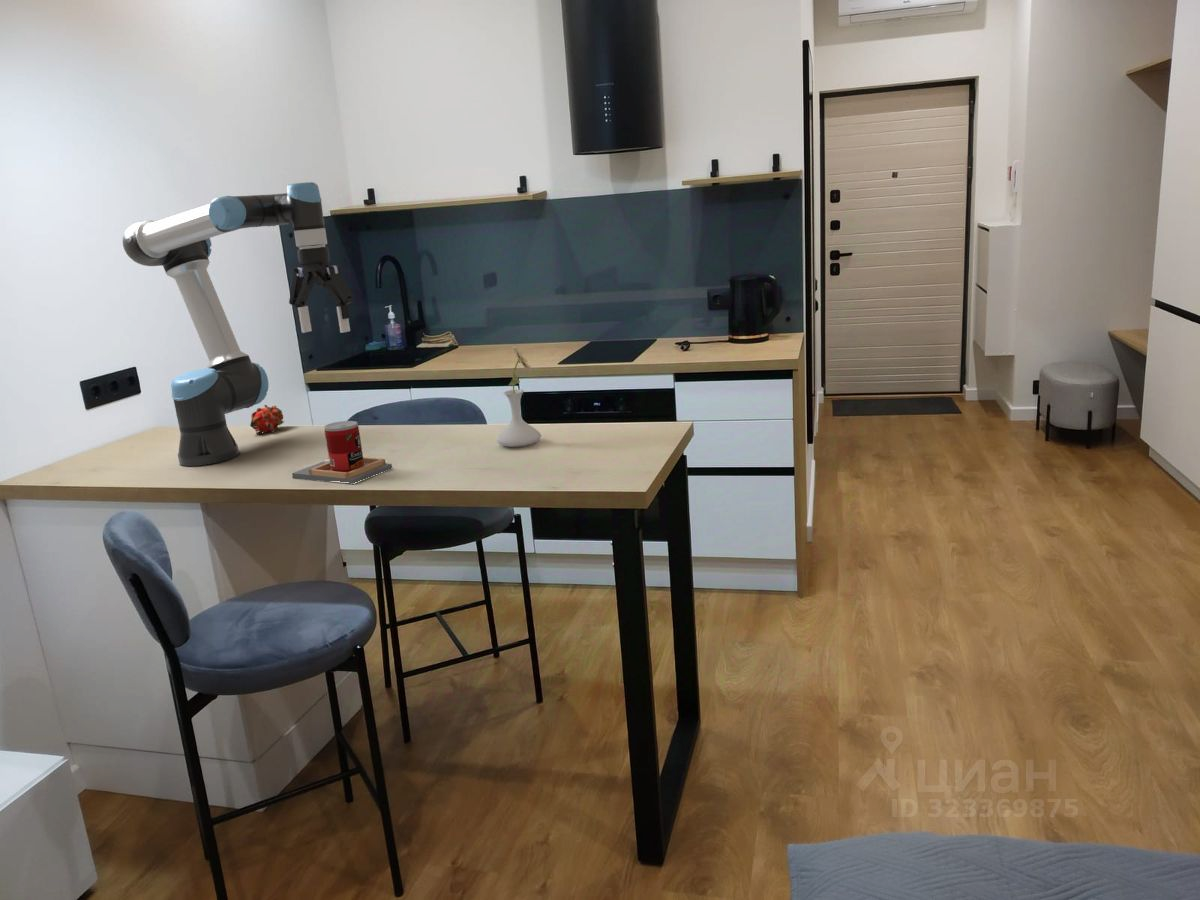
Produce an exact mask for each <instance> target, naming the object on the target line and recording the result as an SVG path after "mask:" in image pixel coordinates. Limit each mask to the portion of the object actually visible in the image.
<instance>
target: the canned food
mask: <svg viewBox="0 0 1200 900" xmlns="http://www.w3.org/2000/svg"><path fill="white" fill-rule="evenodd" d="M323 429H324V436H325V437H324V438H325V442H326V447H327V455H328V459H329V461H330V467H331V469H332V471H337V472H347V473H348V472H350V471H353V470H355V469H358V468H360V467H363V466H364V460H363V457H364V455H363V447H362V442H361V435H360V434H361V433H360V428H359V424H358V421H354V420H342V421H337V422H332V423H328V424H326V425H324V428H323Z"/></svg>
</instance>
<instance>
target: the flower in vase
mask: <svg viewBox="0 0 1200 900" xmlns="http://www.w3.org/2000/svg"><path fill="white" fill-rule="evenodd" d="M512 350H513V352H514V353H515V356H516V357H517V361H516V363H515V367H514V369H513V372H512V379H511V380H510V382H509V384H508V386H510V387H512V389H511V390H510V389H509V390H505V391H504V392H503V394H504V395H505V396H506V398H507V399H508V401H509V404H510V410H511V421H510V422H509V423H508V424H507V426H506V427H504V428H503V430H501V431H500V432H499V434H497V437H496V442H497V443H498V444H499V445H500V446H504V447H508V448H509V447H510V448H513V447H514V448H515V447H516V448H517V447H525V446H529V445H532V444H535V443H536V442H538V441H540V439H541V437H542V435H541V433H540V431H538V430H537V429H536V428H535V427H534V426H533V425H530V424H529V423H528V422H526V421H525V420H524V419H523V418H522V414H521V399H522V395H523V394H524V389H515V386H516V385H518V384H520V383H521V382H520V379H519V377H518V376H517V375H516V374H515V373H516V369H517V367H518V364H519V363H521V365H522V366H523V368H524V369H525V370H526V371H527V372H528V373H529V372H532V367H531V366H530V365H529V363H528V360H527V358H526V357H524V356H523V353H522V351H521V350H518V347H517V346H516V345H512Z"/></svg>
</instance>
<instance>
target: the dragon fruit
mask: <svg viewBox="0 0 1200 900" xmlns="http://www.w3.org/2000/svg"><path fill="white" fill-rule="evenodd" d="M250 418H251V421H250V425H249V426H250V427H252V429H253V430H255V432H256V435H258V433H260V434H263V433H262V432H265V433H267V432H269V431H270V432H271V433H274V432H275V431H276V430H278V426H281V425H283V423H285V421H284V415H283V411H282V409H280V408H279V407H277V405H272V406H271V407H270V406H268V405H267V404H265V405H264V407H263V408H261V407H258V408H257V409H256V411H253V412H252V413H251V416H250ZM273 431H274V432H273Z"/></svg>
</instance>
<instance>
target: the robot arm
mask: <svg viewBox="0 0 1200 900" xmlns="http://www.w3.org/2000/svg"><path fill="white" fill-rule="evenodd" d="M210 202H211V203H208V204H205V205H202V206H199V207H195V208H194V209H193V208H192V209H190V210H187V211H184V212H181V213H178V214H174V215H172V216H169V217H166V218H164V219H160V220H152V219H151V220H150V219H149V220H148V219H147V220H144V221H140V222H136V223H133V224H131V225H130V226H128V227H127V228H126V230H125V231H124V233H123V236H122V246H123V249H124V252H125V253H126V255H127V256H128V257H129V258H130V259H131V260H132V261H133V262H135V263H137V264H138V265H141V266H144V267H159V266H160V267H161V266H162V268H163V269H164V272H165V274H166V276H168V277H169V278H172V279H173V280H174V281H175V283H176V285H177V287H178V290H179V292H180V295H181V298H182V299H183V302H184V304H185V307H186V309H187V311H188V313H189V315H190V319H191V320H192V323H193V326H194V328H195V330H196V332H197V335H198V337H199V340H200V343H201V345H202V347H203V349H204V351H205V354H206V356H207V359H208V361H209V362H208V365H207V367H206V368H198V369H195V370H190V371H187V372H184V373H181V374H179V375H177V376H176V377H174V378H173V379H172V380H171V384H170V387H171V398H172V399H173V403H174V404H173V405H174V408H175V412H176V418H177V422H178V428H179V433H180V436H179V438H180V439H179V444H178V445H179V446H178V453H177V458H178V464H179V465H180V466H185V467H199V466H205V465H206V466H208V465H212V463H213V464H218V463H221V462H225V461H229V460H231V459H233V458H236V457H238V456H239V455H240V451H239V445H238V444H237V442H236V440H235V439H234V436H233V435H232V433H231V432H230V429H229V427H228V425H227V421H226V415H227V414H230V413H233V412H236V411H240V410H243V409H250V408H251V407H253V406H256V405H258V404H260V403H262V402H263V401H264V400H265V399H266V397H267V394H268V393H267V392H268V390H269V378H268V375H267V372H266V370H265V369H264V368H263V367H262V366H260V364H259V363H257V362H252V360H251V357H250V355H249V354H248V353H246V352H243V351H241V348H240V346H239V343H238V341H237V339H236V336H235V334H234V332H233V330H232V329H233V328H232V327H231V324H230V322H229V320H228V318H227V315H226V312H225V310H224V309H223V306H222V303H221V301H220V298H219V296H218V292H217V291H216V289H215V287H214V285H213V281H212V279H211V276H210V275H209V271H208V267H209V265H210V263H211V262H210V260H209V257H210V255H211V253H212V248H211V247H212V240H211V238H213V237H217V236H220V235H223V234H227V233H230V232H234V231H237V230H240V229H249V228H260V227H276V226H285V225H292V228H293V233H294V239H295V246H296V247H297V248H298V249H297V250H296V252H297V258H298V263H299V264H300V265H301V266H299V267H294V268H293V269H292V273H293V274H292V276H293V279H292V282H291V283H292V284H291V289H290V295H289V300H288V304H289V305H291V306H292V305H293V306H294V307H295V308H296V312H297V313H296V314H297V318H298V320H299V323H300V329H301V333H302V334H305V333H309V332H313V331H312V323H311V318H310V313H309V306H308V304H307V301H308V298H309V297H310V295H311V292H312V289H313V287H314V286H322V287H324V288H325V289H326V290H327V292H328V293H329V294H330V296H331V297H332V298H333V299H334V301H335V302H336V304H337V306H336V313H337V319H338V320H337V321H338V326H339V333H340V334H341V333H348V332H351V327H350V321H349V320H350V310H349V304H351V303H353V302H355V299H354V297H353V295H352V293H351V291H350V289H349V287H348V285H347V284H346V281H345V280H344V277H343V276H342V273H341V270H340V266H339V265H338V264H335V265H329V262H330V260H331V257H330V252H329V247H328V246H326V245H328V238H327V232H326V226H325V219H324V213H323V205H322V198H321V193H320V189H319V185H318V184H317V183H316V182H313V181H310V182H309V181H308V182H294V183H289V184H288V185H287V186H286V192H285V193H273V194H256V195H255V194H254V195H236V196H234V195H233V196H232V195H224V196H220V197H219V196H218V197H216V198H213V199H212V200H211V201H210ZM207 464H208V465H207Z"/></svg>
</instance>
